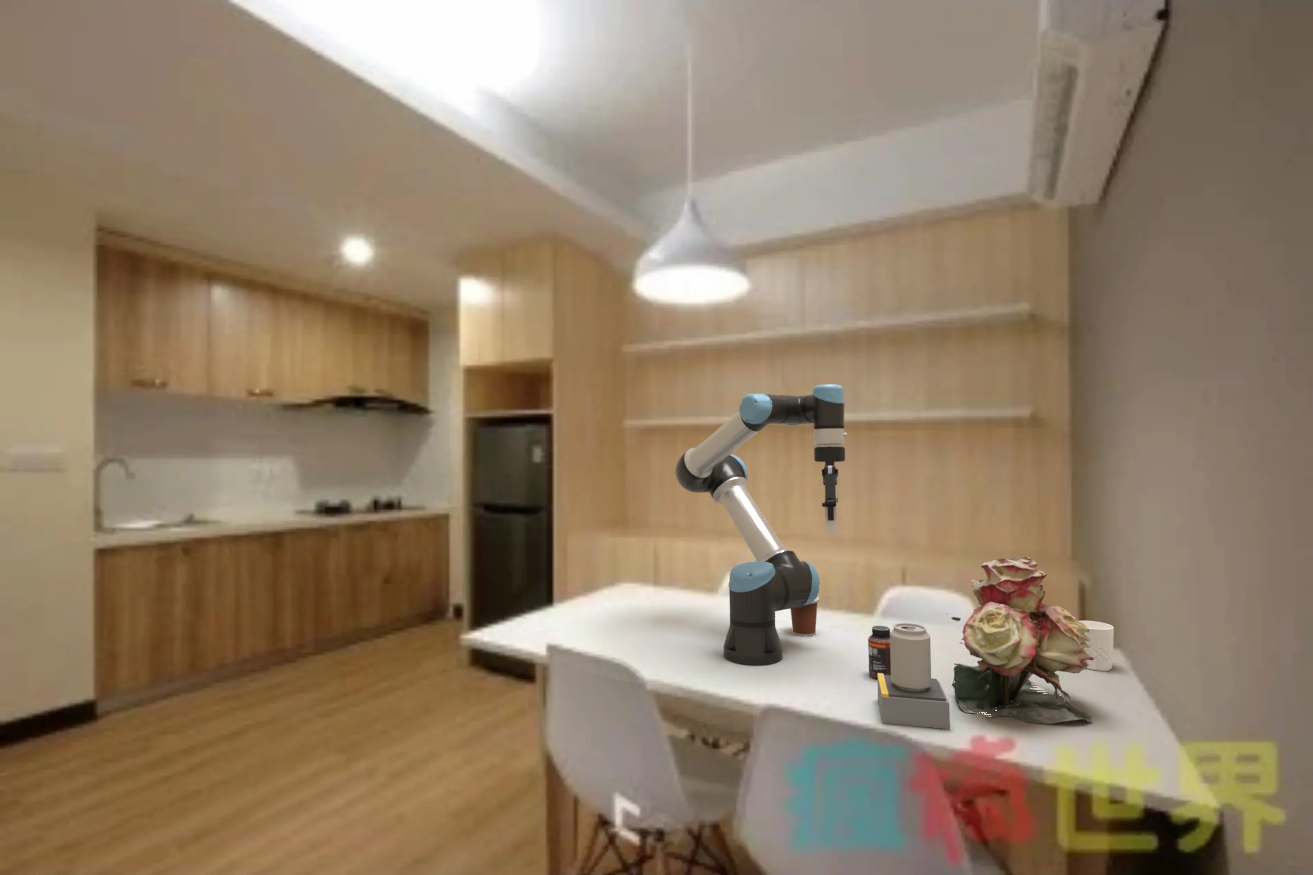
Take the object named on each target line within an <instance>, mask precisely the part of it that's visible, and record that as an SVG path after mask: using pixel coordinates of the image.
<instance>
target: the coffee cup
mask: <svg viewBox="0 0 1313 875" xmlns="http://www.w3.org/2000/svg"><path fill="white" fill-rule="evenodd" d="M820 599H821V598H820V597H819V596H817V597H816V599H815V600H814V601H813V602H812V603H810V604H808V605H804V606H802V607H799V608H797V607H796V608H791V609H790V616H791V625H792V626H791V627H792V634H793V635H794V634H795V635H794V636H798V637H804V636H807V637H814V636H816V631H817V630H816V629H817V628H816V627H817V614H818V603H819V602H820V601H821V600H820Z"/></svg>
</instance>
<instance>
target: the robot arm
mask: <svg viewBox="0 0 1313 875" xmlns="http://www.w3.org/2000/svg"><path fill="white" fill-rule="evenodd" d="M845 402H846V401H845V394H844V388H843V386H842V385H840V384H836V383H835V384H818V385H815V386H814V387H813V389H812V394H810V395H809V394H808V395H789V394H788V395H784V394H771V393H770V394H768V393H760V392H759V393H758V392H757V393H749V394H746V395H745V396H743V397H742V399H741V402H740V403H739V408H738V411H737V412H736V413H735V414H734V415H733V416H731V417H730V419H728V420H727V421H726V422H724V424H722V425H721V426H720V427H719V428H718V429H717V430H715V431H714V432H713V433H712V434H710V435H709V436H708V437H707V438H705V440H704V441H702V442H701V443H700V444H699V445H698V446H697V447H691V448H689V449H688V450H686V451H685V452H684V453H683V454H682V455H681V456H680V457H679V459H678V461H677V462H676V465H675V471H674V473H675V477H676V480H677V482H678V484H679V485H680V486H681V487H682V488H683V489H684V490H686V491H688V492H690V493H695V494H696V493H700V494H701V493H709V495H710V497H711V498H712V499H713V501H714V502H715V503H716V504H719V505H721V504H722V506H723V507H724V510H725V511H726V513H727V514H728V516H729V518H730V519H731V521H732V523H733V524H734V526H735V528H736V529H737V531H738V533H739V534H740V536H741V537H742V539H743V541H744V542H745V544H746V545H747V547H748V548H749V550H750V552H751V553H752V555H753V557H754V559H755V560H756V561H748V562H744V563H740V564H737V565H735V566H734V567H733V568H731V570H730V571H729V572H730V573H729V582H728V590H729V627H728V630H727V634H726V637H725V639H724V640H725V641H724V643H723V657H724V658H725V659H726V660H728V661H731V662H733V663H737V664H742V665H749V666H751V665H752V666H762V665H771V664H774V663H778V662H780V661H781V660H782V659H783V658H784V657H783V655H784V653H783V645H782V643H781V639H780V636H779V634H778V630H777V627H776V612H779V611H783V610H791V608H796V607H797V608H799V607H802V606H804V605H808V604H810V603H812V602H813V601H814V600H815V599H816V597H818V595H819V593H820V584H821V582H820V581H821V580H820V576H819V574H818V570H817V569H816V567H815V566H814V565H813V564H812V563H810V562H808V561H804V560H802V561H801V560H800V559H799V557H798V556H797V554H796V553H795V552H794V550H792V549H786V548H785V546H784V545H783V543H782V542H781V540H780V538H779V537H778V535H777V533H776V532H775V531H774V529H773V528H772V526H771V524H770V522H768V519H767V518H766V517H765V516H764V514H763V513H762V511H761V510H760V508H759V506H758V505H757V503H756V502H755V500H754V498H753V497H752V495H751V494H750V493H749V491H748V490H747V487H748V477H749V476H748V475H749V474H748V473H747V472H748V469H747V467H746V464H745V462H744V461H743V460H742V459H741V458H740V457H739V456H737V455H735V454H733V453H734V452H735V451H736V450H738V449H739V448H740V447H741V446H742V445H743V444H745V443H747V442H748V441H749V440H750V439H751V438H753V437H754V436H755V435H756V434H758V433H759V432H761V430H763V429H764V428H766V427H767V426H768V425H786V426H799V425H808V424H813V445H814V446H815V447H814V448H813V452H814V455H813V459H814V461H815V462H816V463H819V462H820V463H821V462H822V463H823V462H824V467H823V468H822V469H821V477H822V485H823V486H824V502H822V503H821V507H822V508H824V533H825V535H837V534H838V524H837V522H838V521H837V503H838V502H839V498H838V497H837V493H836V489H837V488H836V486H837V485H838V476H839V468H836V465H835V463H836V462H837V463H838V462H839V463H840V462H844V461H845V460H846V448H845V446H843V445H845V437H847V436H848V433H847V432H845Z"/></svg>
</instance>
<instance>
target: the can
mask: <svg viewBox="0 0 1313 875" xmlns="http://www.w3.org/2000/svg"><path fill="white" fill-rule="evenodd" d="M931 654H932V653H931V635H930V634H929V633H928V632H927V627H926V626H925V625H923V624H918V623H913V622H899V623H898V622H897V623H895V624H893V627H892V630H890V657H891V681H892V682H893V683H894V684H895V685H896V686H897V687H898V688H900V689H903V690H906V691H913V692H920V691H925V690H926V689H927V688H928V687H930V686H931V678H932V658H931V657H932V656H931Z"/></svg>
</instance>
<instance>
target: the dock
mask: <svg viewBox="0 0 1313 875" xmlns="http://www.w3.org/2000/svg"><path fill="white" fill-rule="evenodd" d="M877 676H878V679H877V704H878V706H879V712H880V718H881V723H882V724H889V725H899V726H908V727H918V726H919V728H929V727H933V728H932V729H940V728H942V729H943V730H951V727H950V726H951V724H950V722H951V721H950V718H951V717H950V702H949V699H948V697H947V695H946V693H945V691H944V689H943V687H942V685H941V682H940V680H938V679H937V678H933V677H931V686H930V687H928V688H927V689H926V690H925V691H920V692H913V691H906V690H903V689H900V688H898V687H897V686H896V685H895V684H894V683H893V682H892V681H891V675H884V674H883V673H877ZM942 729H941V730H942Z"/></svg>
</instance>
